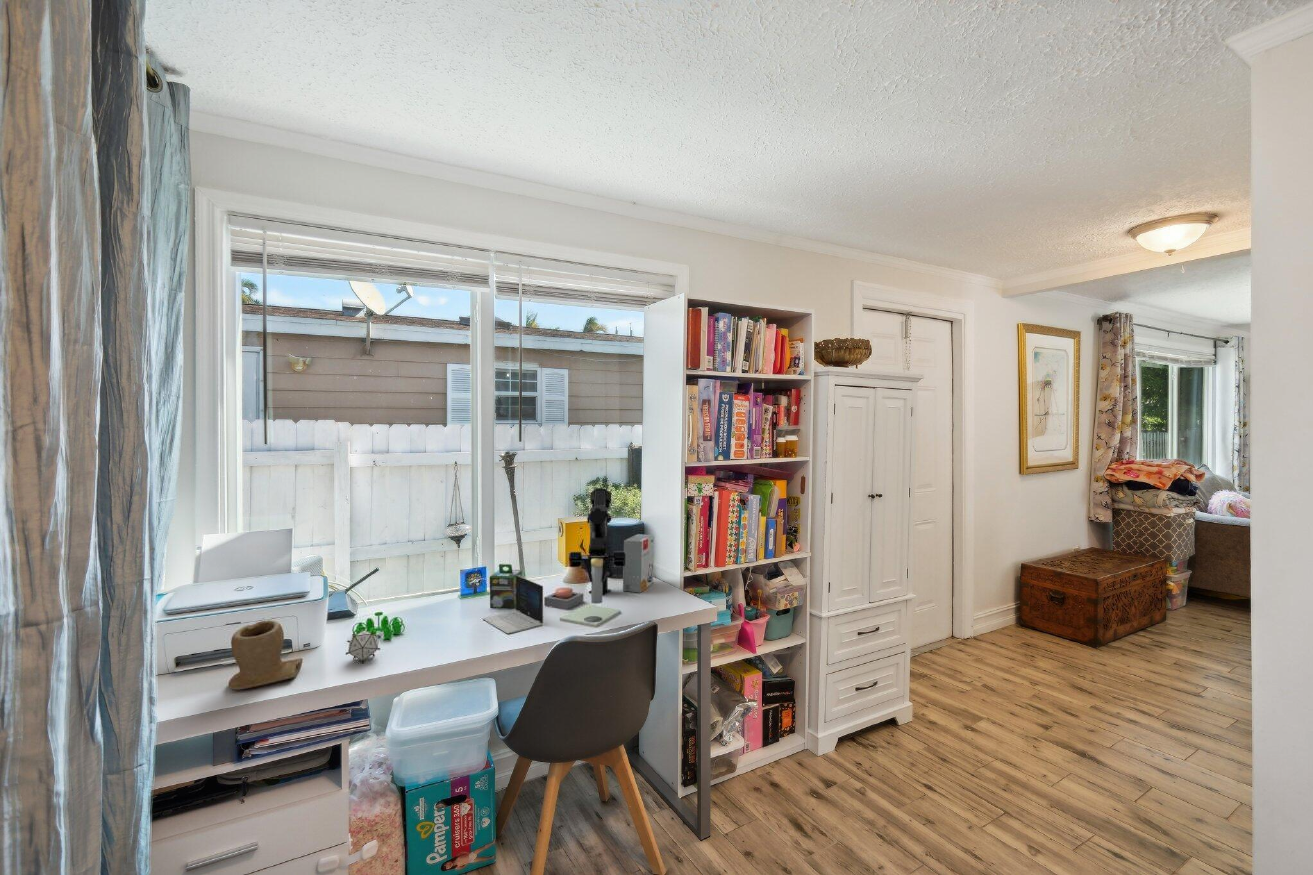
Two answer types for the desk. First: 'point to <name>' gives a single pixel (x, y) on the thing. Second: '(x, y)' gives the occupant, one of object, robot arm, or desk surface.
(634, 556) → the hard drive box
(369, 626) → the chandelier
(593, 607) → the pale green board
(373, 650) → the game die
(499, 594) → the chalk box
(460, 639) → the desk surface
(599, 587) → the marker
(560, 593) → the button
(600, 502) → the robot arm
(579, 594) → the button housing
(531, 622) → the laptop
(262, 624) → the stone cup
